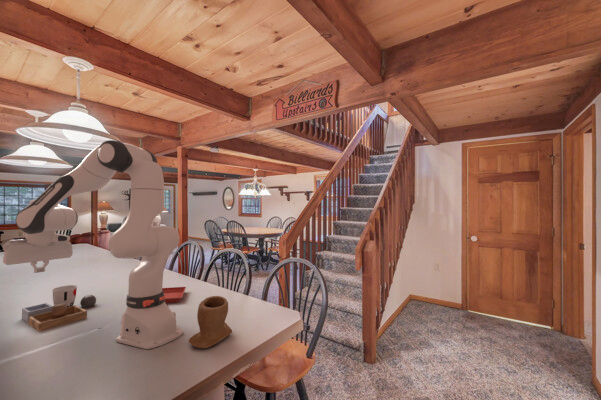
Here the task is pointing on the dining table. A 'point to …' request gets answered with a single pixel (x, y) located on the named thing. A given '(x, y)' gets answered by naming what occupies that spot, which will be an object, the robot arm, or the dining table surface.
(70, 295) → the cup
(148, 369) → the dining table surface
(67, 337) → the dining table surface
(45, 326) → the oak tray
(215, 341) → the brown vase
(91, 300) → the dark gray ball
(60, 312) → the walnut peg
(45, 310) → the pen pot
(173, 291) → the plant saucer
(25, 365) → the dining table surface
